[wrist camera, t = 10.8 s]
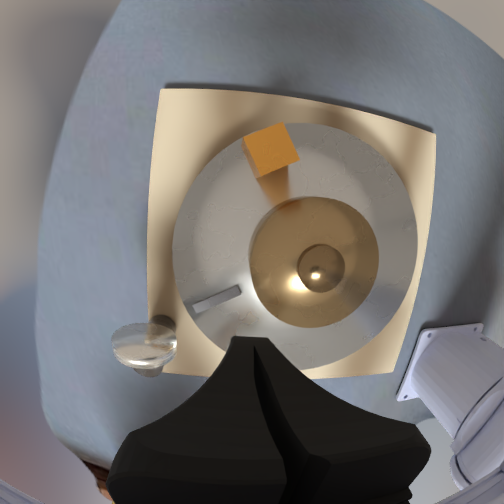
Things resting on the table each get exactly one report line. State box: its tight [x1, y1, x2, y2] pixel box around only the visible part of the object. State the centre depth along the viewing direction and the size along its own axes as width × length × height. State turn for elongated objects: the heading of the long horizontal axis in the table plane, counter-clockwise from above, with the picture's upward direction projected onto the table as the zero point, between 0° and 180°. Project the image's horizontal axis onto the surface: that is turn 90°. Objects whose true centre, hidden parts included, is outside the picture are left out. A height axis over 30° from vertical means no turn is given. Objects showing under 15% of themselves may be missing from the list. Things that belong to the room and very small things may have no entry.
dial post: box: [112, 314, 177, 377], centre depth 16 cm, size 4×3×7 cm
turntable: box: [172, 122, 418, 370], centre depth 16 cm, size 16×16×4 cm
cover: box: [248, 196, 379, 328], centre depth 15 cm, size 7×7×3 cm
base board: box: [147, 89, 436, 379], centre depth 19 cm, size 20×20×1 cm
